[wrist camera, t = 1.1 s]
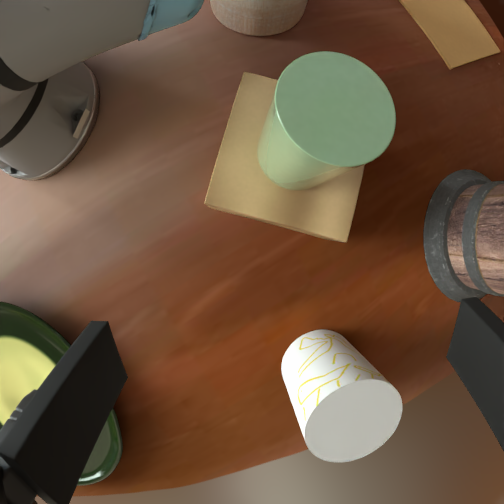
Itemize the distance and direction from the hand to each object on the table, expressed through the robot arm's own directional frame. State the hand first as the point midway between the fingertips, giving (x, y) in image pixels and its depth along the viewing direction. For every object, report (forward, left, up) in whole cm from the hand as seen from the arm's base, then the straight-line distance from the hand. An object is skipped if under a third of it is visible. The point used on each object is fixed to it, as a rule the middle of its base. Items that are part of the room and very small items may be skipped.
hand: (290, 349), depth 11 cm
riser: (-7, +8, -21) cm, 24 cm away
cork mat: (-17, +44, -21) cm, 52 cm away
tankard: (+12, +29, -21) cm, 38 cm away
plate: (+1, -34, -21) cm, 40 cm away
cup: (+13, +1, -21) cm, 25 cm away
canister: (-7, +8, -15) cm, 18 cm away
